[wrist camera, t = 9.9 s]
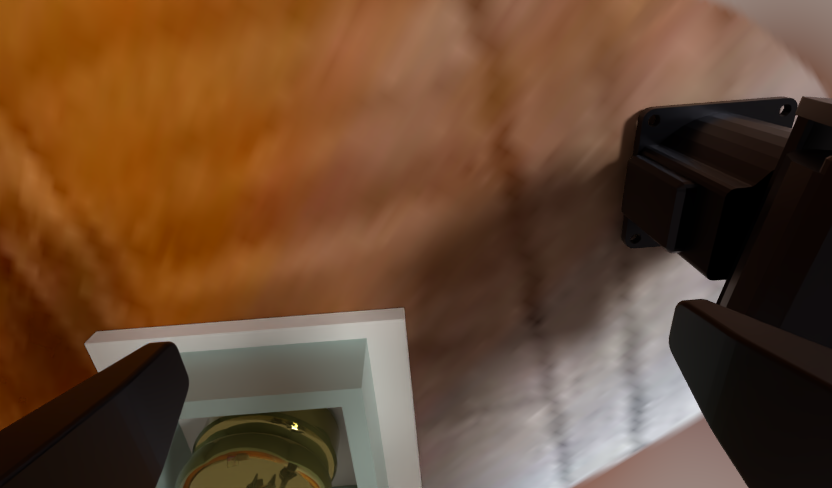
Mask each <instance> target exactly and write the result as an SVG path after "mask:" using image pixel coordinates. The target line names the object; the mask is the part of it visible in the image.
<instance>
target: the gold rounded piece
mask: <svg viewBox="0 0 832 488" xmlns="http://www.w3.org/2000/svg"><path fill="white" fill-rule="evenodd" d="M339 442H340V432H339V427H338V425H337V422H336V420H335V418H334V417H333V415H332V414H331V412H330V411H329V410H328V409H327V408H320V409H307V410H294V411H281V412H268V413H255V414H243V415H230V416H217V417H208V419H207V421H206V423H205V425H204V428H203V430H202V431H201V432H200V434H199V435H198V437H197V438H196V440H195V443H194V446H193V451H192V456H191V457H190V458H189V459H188V460H187V462H186V463H185V465H184V466H183V468H182V469H181V471H180V473H179V475H178V477H177V480H176V483H175V488H332V481H333V479H334V477H335V475H336V471H337V455H338V448H339Z"/></svg>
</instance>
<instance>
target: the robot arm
mask: <svg viewBox="0 0 832 488" xmlns="http://www.w3.org/2000/svg"><path fill="white" fill-rule="evenodd" d="M783 105H784V109H783V111H782V112H781V113H780V114H779V110H780V108H781V107H782V106H783ZM797 106H798V108H797ZM652 115H655V117H656V119H655V121H654V122H653V123H652V124H650V125H649V124H648V120H649V118H650V117H651V116H652ZM795 115H798V117H797V120H796V122H795V124H794V126H793V129H792V125H793V122H794V118H795ZM622 213H623V214H624V221H623V228H622V235H621V238H622V241H623V243H625V244H626V245H627V246H628V247H630V248H644V247H657V246H662V247H663V248H664V249H665V250H667V251H668V252H669V253H677V254H679V255H680V256H681V257H682V258H683V259H685V260H686V261H687V262H688V263H690V264H691V265H692V266H693V267H694V268H696V269H697V270H698V271H699V272H700V273H702V274H703V275H704V276H705V277H707V278H708V279H709V280H726V282H725V285H724V287H723V289H722V291H721V294H720V296H719V298H718V301H717V303H713V302H710V301H708V300H705V299H696V300H684V301H681V302H679V303H678V304H677V306H676V308H675V312H674V316H673V321H672V326H671V330H670V335H669V346H670V350H671V352H672V354H673V356H674V358H675V360H676V362H677V364H678V366H679V368H680V370H681V372H682V374H683V376H684V378H685V380H686V382H687V384H688V386H689V388H690V390H691V392H692V394H693V396H694V398H695V400H696V402H697V403H698V405H699V407H700V409H701V411H702V413H703V415H704V417H705V419H706V421H707V422H708V424H709V426H710V428H711V429H712V431H713V433H714V434H715V436H716V438H717V439H718V441H719V443H720V444H721V446H722V447H723V449H724V450H725V452H726V453H727V455H728V456H729V458H730V459H731V461H732V463H733V464H734V466H735V467H736V469H737V470H738V472H739V474H740V475H741V476H742V478H743V480H744V481H745V483H746V485H747V486H748V487H749V488H832V99H830V98H817V97H805V96H802V98H801V101H800V103H799V105H797V102H796V100H794V99H792V98H787V97H770V98H758V99H745V100H732V101H720V102H707V103H694V104H682V105H669V106H656V107H649V108H646V109H645V110H643V111H642V112H641V114H640V115H639V118H638V123H637V130H636V137H635V144H634V151H633V156H632V157H631V159H630V160H629V161H628V166H627V174H626V181H625V188H624V195H623V202H622ZM634 234H637V236H636V238H635V239H633V240H630V239H631V237H632V236H633V235H634ZM188 389H189V377H188V373H187V371H186V368H185V366H184V363H183V360H182V358H181V355H180V352H179V350H178V348H177V346H176V345H175V343H173V342H170V341H166V342H154V343H148V344H146V345H144V346H142V347H141V348H139V349H137V350H136V351H134V352H132V353H131V354H129V355H127V356H126V357H124V358H122V359H120V360H119V361H117V362H115V363H114V364H112V365H110V366H109V367H107V368H105V369H104V370H102V371H100V372H99V373H97V374H95V375H94V376H92V377H90V378H88V379H87V380H85V381H83V382H82V383H80V384H78V385H77V386H75V387H73V388H72V389H70V390H68V391H67V392H65V393H63V394H62V395H60V396H58V397H56V398H55V399H53V400H51V401H50V402H48V403H46V404H45V405H43V406H41V407H40V408H38V409H36V410H35V411H33V412H31V413H30V414H28V415H26V416H24V417H23V418H21V419H19V420H18V421H16V422H14V423H13V424H11V425H9V426H8V427H6V428H4V429H3V430H1V431H0V488H156V486H157V483H158V481H159V478H160V476H161V473H162V471H163V468H164V465H165V462H166V459H167V456H168V453H169V450H170V447H171V444H172V441H173V437H174V434H175V431H176V428H177V425H178V422H179V418H180V415H181V412H182V409H183V406H184V402H185V399H186V396H187V393H188Z"/></svg>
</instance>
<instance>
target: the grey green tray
mask: <svg viewBox="0 0 832 488" xmlns="http://www.w3.org/2000/svg"><path fill="white" fill-rule="evenodd" d="M166 341H170V342H173V343H175V345H176V346H177V348H178V350H179V352H180V355H181V358H182V360H183V363H184V366H185V368H186V371H187V373H188V377H189V389H188V393H187V396H186V399H185V402H184V406H183V409H182V412H181V415H180V418H179V422H178V425H177V428H176V431H175V434H174V437H173V441H172V444H171V447H170V450H169V453H168V456H167V459H166V462H165V465H164V468H163V471H162V473H161V476H160V478H159V481H158V483H157V486H156V488H175V483H176V480H177V477H178V475H179V473H180V471H181V469H182V468H183V466H184V465H185V463H186V462H187V460H188V459H189V458H190V457H191V456H192V451H193V446H194V443H195V440H196V438H197V437H198V435H199V434H200V432H201V431H202V430H203V428H204V425H205V423H206V421H207V419H208V417H217V416H230V415H243V414H255V413H268V412H281V411H294V410H307V409H320V408H327V409H328V410H329V411H330V412H331V414H332V415H333V417H334V418H335V420H336V422H337V425H338V427H339V432H340V442H339V448H338V455H337V471H336V475H335V477H334V479H333V481H332V488H422V482H421V472H420V462H419V452H418V442H417V432H416V422H415V412H414V402H413V392H412V382H411V371H410V361H409V351H408V341H407V331H406V321H405V311H404V308H392V309H379V310H366V311H353V312H340V313H328V314H315V315H302V316H289V317H276V318H263V319H251V320H238V321H225V322H212V323H199V324H187V325H174V326H161V327H148V328H135V329H122V330H110V331H97V332H95V333H94V334H93V335H92V336H91V337H90V338H89V339H88V340H87V341H86V342H85V343H84V345H85V347H86V349H87V351H88V353H89V355H90V357H91V359H92V361H93V363H94V365H95V367H96V369H97V371H98V373H99V372H100V371H102V370H104V369H105V368H107V367H109V366H110V365H112V364H114V363H115V362H117V361H119V360H120V359H122V358H124V357H126V356H127V355H129V354H131V353H132V352H134V351H136V350H137V349H139V348H141V347H142V346H144V345H146V344H148V343H154V342H166Z"/></svg>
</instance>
